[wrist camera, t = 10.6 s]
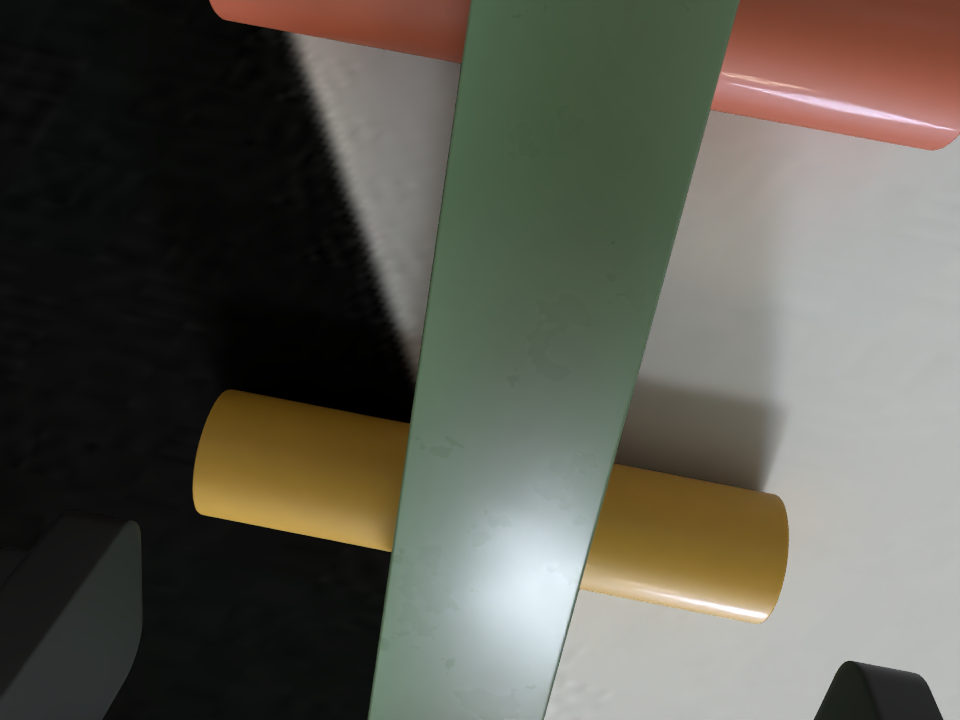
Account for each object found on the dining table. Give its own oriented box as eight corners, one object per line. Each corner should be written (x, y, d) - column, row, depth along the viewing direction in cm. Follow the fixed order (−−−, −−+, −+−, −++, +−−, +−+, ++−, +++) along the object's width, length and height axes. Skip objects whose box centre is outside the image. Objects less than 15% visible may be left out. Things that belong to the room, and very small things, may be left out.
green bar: (396, 626, 23) (361, 759, 19) (525, -209, 14) (504, -243, 11) (534, 653, 23) (524, 792, 19) (743, -171, 14) (792, -193, 11)
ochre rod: (235, 467, 25) (190, 540, 22) (240, 366, 24) (192, 430, 21) (738, 565, 25) (757, 652, 22) (774, 470, 23) (799, 549, 20)
